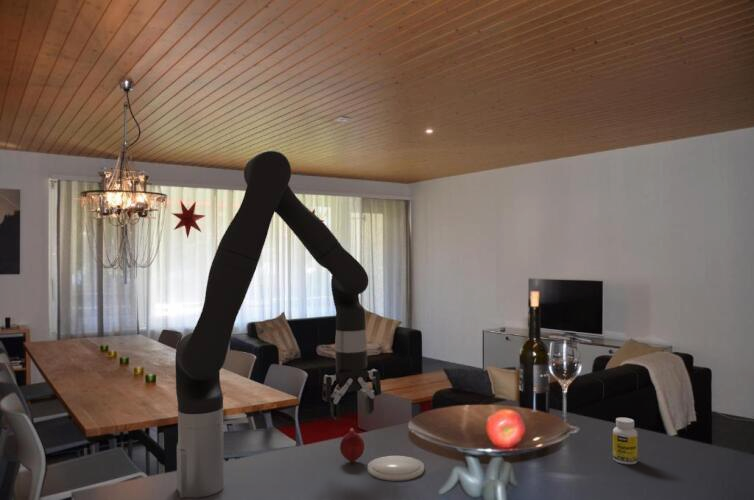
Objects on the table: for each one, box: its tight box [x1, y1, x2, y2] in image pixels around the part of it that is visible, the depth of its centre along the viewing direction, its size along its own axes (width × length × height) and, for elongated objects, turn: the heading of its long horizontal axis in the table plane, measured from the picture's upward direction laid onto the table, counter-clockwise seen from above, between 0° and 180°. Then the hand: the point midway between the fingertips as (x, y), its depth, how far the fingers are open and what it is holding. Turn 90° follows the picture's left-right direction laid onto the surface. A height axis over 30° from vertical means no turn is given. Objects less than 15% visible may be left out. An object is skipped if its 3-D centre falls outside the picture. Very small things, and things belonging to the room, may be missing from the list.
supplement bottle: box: [612, 417, 639, 465], centre depth 139 cm, size 5×5×10 cm
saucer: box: [367, 455, 425, 482], centre depth 135 cm, size 13×13×1 cm
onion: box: [339, 427, 365, 463], centre depth 140 cm, size 6×6×8 cm
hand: (352, 416), depth 140 cm, fingers open, 8 cm apart
